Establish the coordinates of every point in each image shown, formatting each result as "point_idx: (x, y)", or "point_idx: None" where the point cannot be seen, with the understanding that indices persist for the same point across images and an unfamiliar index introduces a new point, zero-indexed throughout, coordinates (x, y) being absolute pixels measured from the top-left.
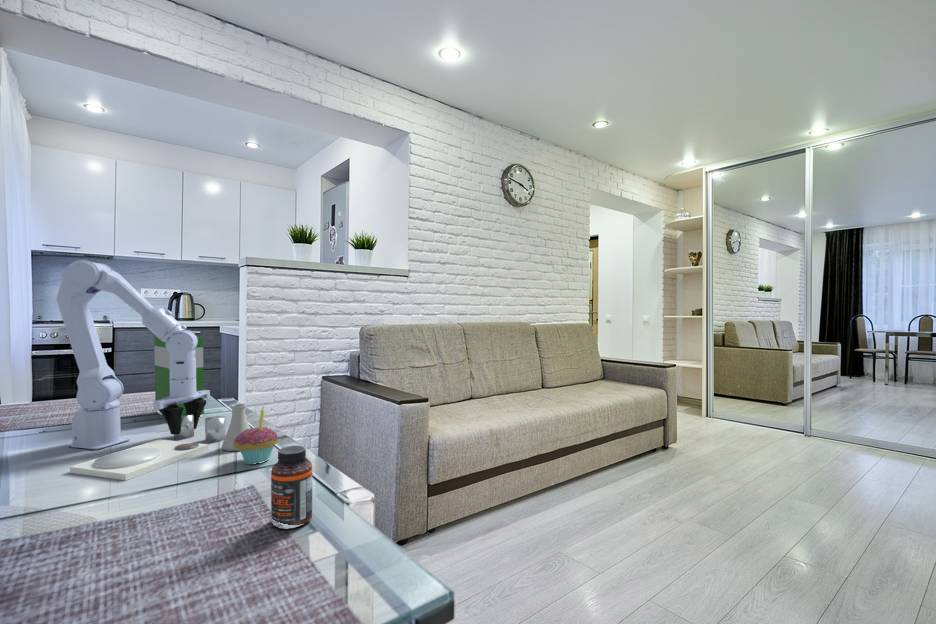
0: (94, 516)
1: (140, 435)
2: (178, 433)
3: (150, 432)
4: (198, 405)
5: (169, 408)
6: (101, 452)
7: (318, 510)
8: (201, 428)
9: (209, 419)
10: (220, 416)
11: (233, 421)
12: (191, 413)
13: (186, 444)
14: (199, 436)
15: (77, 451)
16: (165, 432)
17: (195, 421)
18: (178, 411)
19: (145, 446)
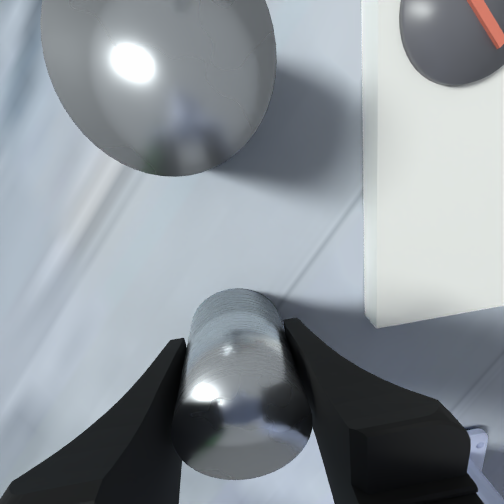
0: None
1: (296, 482)
2: (291, 319)
3: (254, 491)
4: (120, 471)
5: (470, 481)
6: (494, 393)
7: None
8: (99, 392)
9: (242, 62)
10: (80, 69)
11: None
12: (172, 441)
13: (445, 43)
14: (194, 268)
15: (494, 460)
16: None
17: (172, 365)
18: (391, 404)
19: (486, 266)
